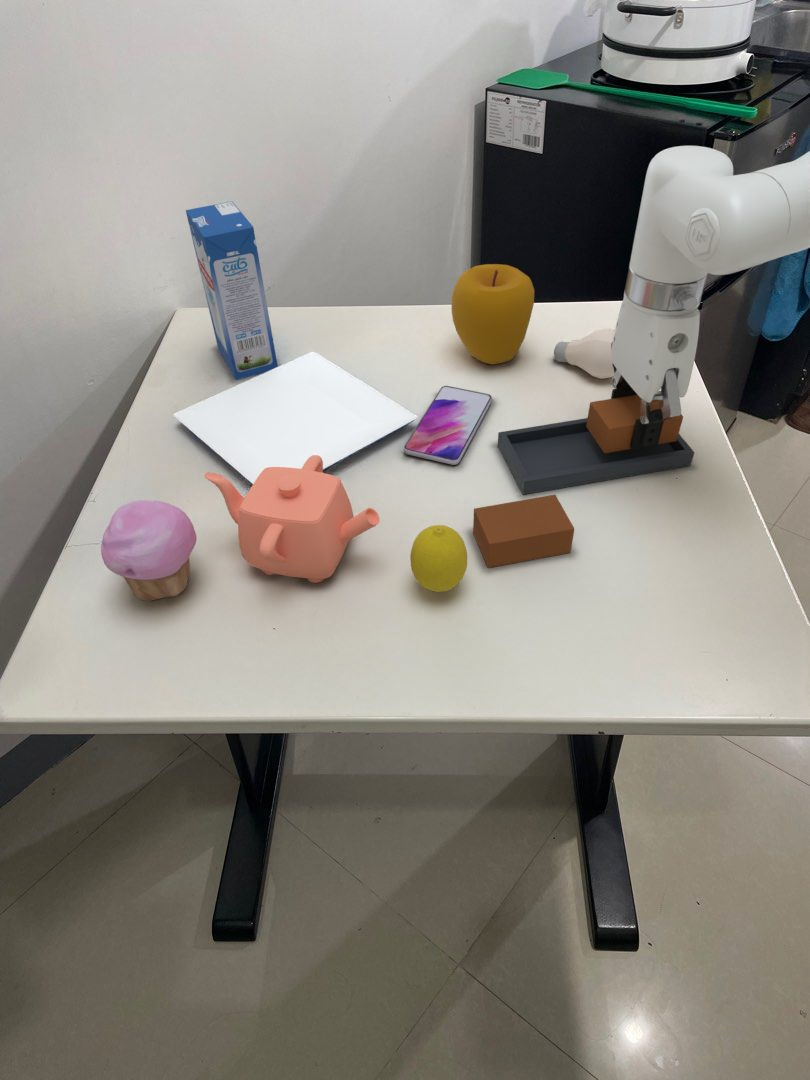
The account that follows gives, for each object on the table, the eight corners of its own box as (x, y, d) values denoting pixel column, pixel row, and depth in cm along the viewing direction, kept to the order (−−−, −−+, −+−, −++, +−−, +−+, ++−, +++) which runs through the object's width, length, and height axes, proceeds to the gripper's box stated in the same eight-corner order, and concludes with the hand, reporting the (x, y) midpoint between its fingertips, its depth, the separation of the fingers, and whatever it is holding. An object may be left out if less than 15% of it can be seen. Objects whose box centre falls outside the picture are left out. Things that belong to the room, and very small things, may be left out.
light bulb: (541, 332, 100) (616, 334, 93) (566, 322, 104) (639, 324, 97) (543, 380, 102) (616, 386, 95) (567, 369, 107) (639, 373, 100)
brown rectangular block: (585, 426, 88) (589, 401, 86) (655, 415, 90) (661, 390, 87) (604, 453, 84) (609, 428, 82) (676, 441, 86) (683, 416, 83)
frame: (497, 445, 90) (498, 432, 89) (653, 419, 93) (656, 406, 91) (522, 495, 83) (524, 481, 82) (690, 466, 86) (694, 452, 85)
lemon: (472, 573, 75) (475, 516, 69) (457, 613, 71) (459, 556, 66) (421, 562, 76) (419, 504, 71) (403, 600, 73) (400, 543, 67)
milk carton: (217, 347, 109) (185, 209, 95) (258, 337, 111) (231, 200, 97) (236, 380, 103) (203, 236, 89) (278, 369, 104) (253, 226, 90)
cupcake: (137, 554, 79) (108, 482, 72) (217, 554, 78) (195, 482, 71) (111, 619, 72) (76, 547, 65) (198, 619, 72) (172, 547, 65)
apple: (437, 362, 104) (436, 275, 95) (476, 330, 110) (479, 245, 101) (505, 385, 99) (511, 295, 90) (542, 350, 106) (551, 262, 97)
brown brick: (472, 532, 79) (473, 508, 77) (551, 518, 80) (555, 494, 78) (487, 568, 75) (489, 544, 73) (570, 552, 77) (574, 528, 74)
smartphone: (494, 394, 96) (457, 462, 87) (493, 400, 97) (457, 467, 87) (442, 384, 98) (400, 448, 88) (441, 389, 99) (400, 454, 89)
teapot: (345, 501, 84) (336, 428, 76) (386, 569, 76) (380, 495, 69) (223, 540, 80) (201, 467, 73) (253, 616, 72) (232, 543, 65)
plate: (272, 510, 83) (269, 496, 81) (175, 426, 95) (171, 412, 94) (419, 429, 93) (418, 415, 92) (314, 362, 105) (313, 349, 104)
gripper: (744, 320, 69) (696, 471, 81) (659, 247, 81) (630, 388, 93) (669, 331, 68) (633, 482, 80) (595, 255, 80) (574, 397, 92)
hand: (631, 430), depth 87 cm, fingers closed on brown rectangular block, 5 cm apart
